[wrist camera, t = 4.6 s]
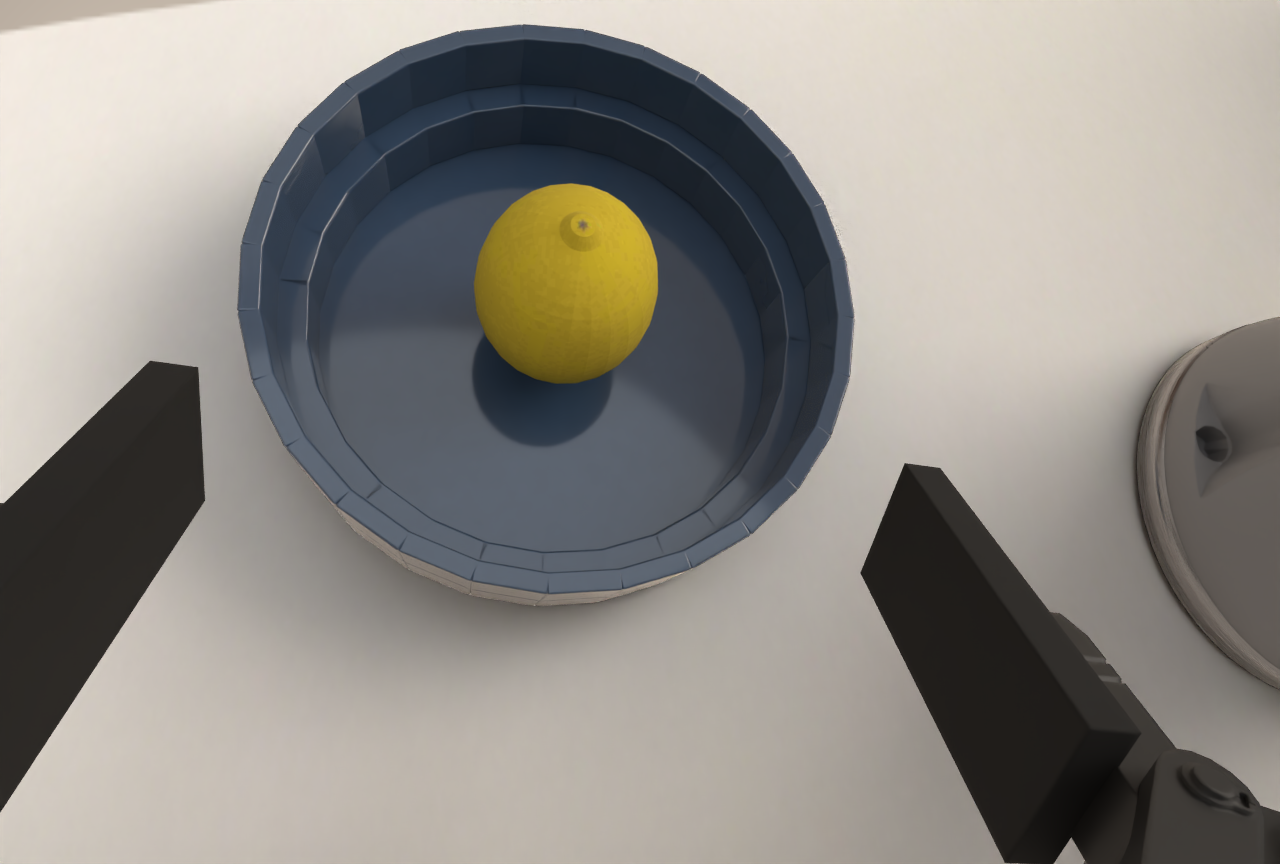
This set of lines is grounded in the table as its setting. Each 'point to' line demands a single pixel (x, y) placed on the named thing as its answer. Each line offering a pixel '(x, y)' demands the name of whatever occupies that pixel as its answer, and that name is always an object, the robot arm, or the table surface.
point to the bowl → (472, 368)
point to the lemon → (566, 283)
